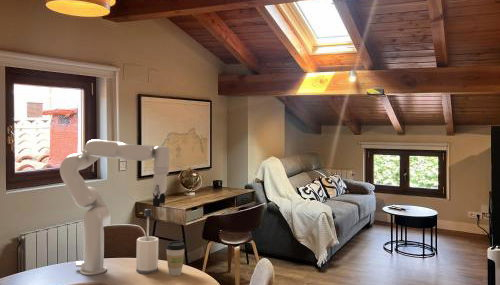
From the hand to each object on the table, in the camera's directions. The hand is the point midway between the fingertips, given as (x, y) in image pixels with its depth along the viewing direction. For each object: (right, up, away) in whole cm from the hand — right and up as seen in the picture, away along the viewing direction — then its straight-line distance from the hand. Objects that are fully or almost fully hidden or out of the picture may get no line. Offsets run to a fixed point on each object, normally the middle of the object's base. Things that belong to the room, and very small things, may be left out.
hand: (158, 204), depth 209 cm
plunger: (-6, -21, +2) cm, 22 cm away
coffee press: (-7, -34, +3) cm, 34 cm away
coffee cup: (+8, -34, -1) cm, 35 cm away
